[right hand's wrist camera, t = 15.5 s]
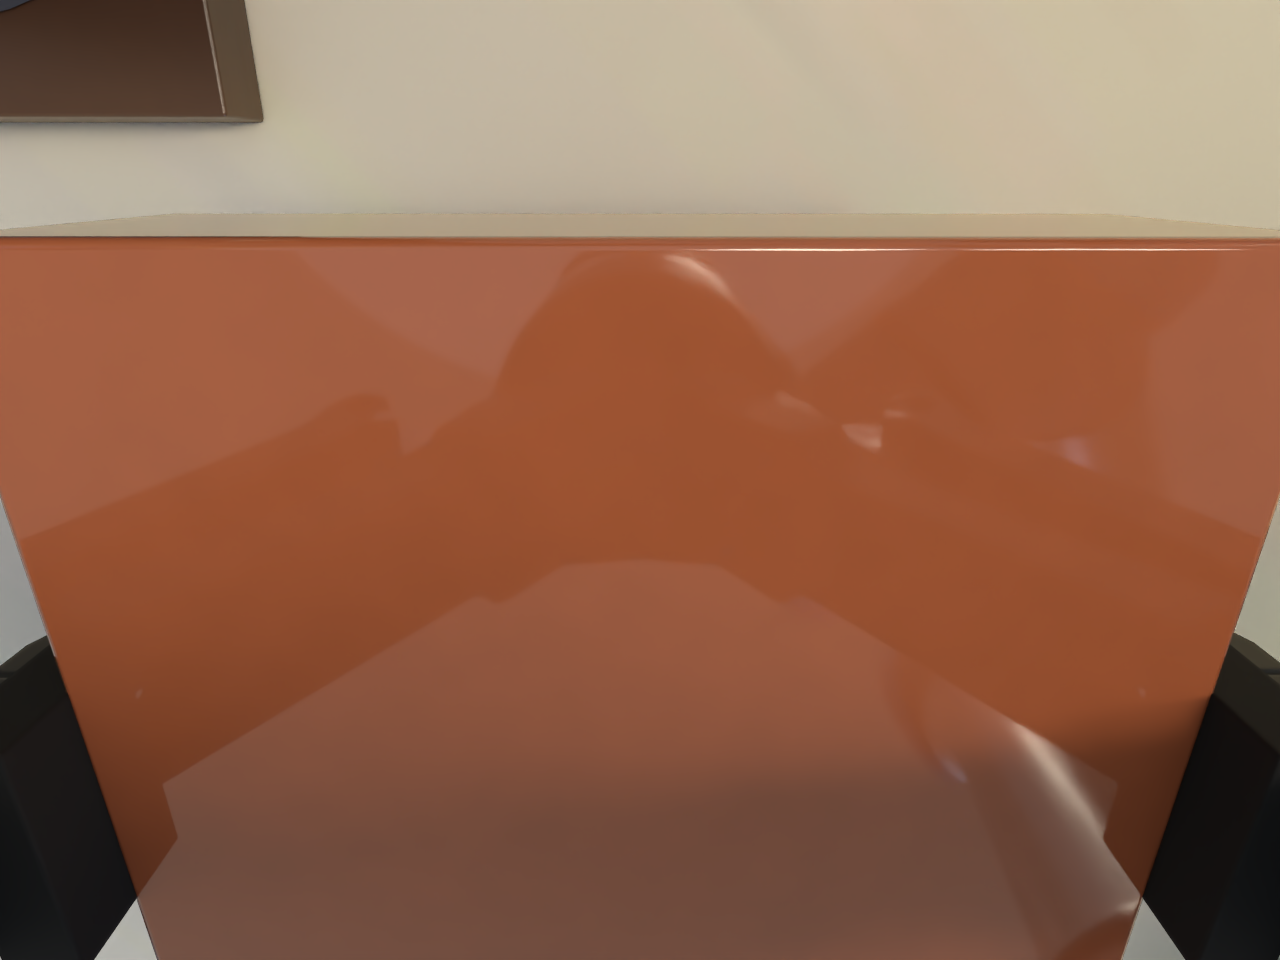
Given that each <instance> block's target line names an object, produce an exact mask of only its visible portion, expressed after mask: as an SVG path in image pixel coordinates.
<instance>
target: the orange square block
mask: <svg viewBox="0 0 1280 960" xmlns="http://www.w3.org/2000/svg"><path fill="white" fill-rule="evenodd" d="M0 498H1V501H2V504H3V507H4V510H5V513H6V516H7V519H8V522H9V525H10V528H11V531H12V534H13V537H14V540H15V543H16V546H17V548H18V551H19V554H20V557H21V560H22V563H23V566H24V569H25V572H26V575H27V578H28V581H29V584H30V587H31V590H32V593H33V596H34V598H35V601H36V604H37V607H38V610H39V613H40V616H41V619H42V622H43V625H44V628H45V631H46V634H47V637H48V640H49V643H50V646H51V649H52V651H53V654H54V657H55V660H56V663H57V666H58V669H59V672H60V675H61V678H62V681H63V684H64V687H65V690H66V693H68V696H69V699H70V702H71V705H72V708H73V711H74V714H75V717H76V720H77V723H78V726H79V729H80V732H81V735H82V738H83V741H84V743H85V746H86V749H87V752H88V755H89V758H90V761H91V764H92V767H93V770H94V773H95V776H96V779H97V782H98V785H99V788H100V791H101V794H102V796H103V799H104V802H105V805H106V808H107V811H108V814H109V817H110V820H111V823H112V826H113V829H114V832H115V835H116V838H117V841H118V844H119V846H120V849H121V852H122V855H123V858H124V861H125V864H126V867H127V870H128V873H129V876H130V879H131V882H132V885H133V888H134V891H135V894H136V897H137V898H136V899H137V902H138V904H139V907H140V910H141V913H142V916H143V919H144V922H145V925H146V928H147V931H148V934H149V937H150V940H151V943H152V946H153V949H154V952H155V954H156V957H157V960H1122V959H1123V956H1124V953H1125V950H1126V947H1127V944H1128V941H1129V938H1130V935H1131V932H1132V929H1133V926H1134V923H1135V921H1136V918H1137V915H1138V912H1139V909H1140V906H1141V903H1142V900H1143V896H1144V893H1145V890H1146V887H1147V884H1148V881H1149V878H1150V875H1151V872H1152V869H1153V866H1154V863H1155V860H1156V857H1157V854H1158V851H1159V849H1160V846H1161V843H1162V840H1163V837H1164V834H1165V831H1166V828H1167V825H1168V822H1169V819H1170V816H1171V813H1172V810H1173V807H1174V804H1175V801H1176V798H1177V796H1178V793H1179V790H1180V787H1181V784H1182V781H1183V778H1184V775H1185V772H1186V769H1187V766H1188V763H1189V760H1190V757H1191V754H1192V751H1193V748H1194V746H1195V743H1196V740H1197V737H1198V734H1199V731H1200V728H1201V725H1202V722H1203V719H1204V716H1205V713H1206V710H1207V707H1208V704H1209V701H1210V698H1211V695H1212V693H1213V691H1214V688H1215V686H1216V683H1217V680H1218V677H1219V674H1220V671H1221V668H1222V665H1223V662H1224V659H1225V656H1226V653H1227V650H1228V647H1229V644H1230V641H1231V639H1232V636H1233V633H1234V630H1235V627H1236V624H1237V621H1238V618H1239V615H1240V612H1241V609H1242V606H1243V603H1244V600H1245V597H1246V594H1247V592H1248V589H1249V586H1250V583H1251V580H1252V577H1253V574H1254V571H1255V568H1256V565H1257V562H1258V559H1259V556H1260V553H1261V550H1262V547H1263V545H1264V542H1265V539H1266V536H1267V533H1268V530H1269V527H1270V524H1271V521H1272V518H1273V515H1274V512H1275V509H1276V506H1277V503H1278V500H1279V498H1280V230H1274V229H1263V228H1252V227H1241V226H1231V225H1220V224H1209V223H1198V222H1187V221H1177V220H1166V219H1155V218H1144V217H1134V216H1123V215H1112V214H164V215H154V216H143V217H132V218H121V219H110V220H99V221H88V222H77V223H66V224H56V225H45V226H34V227H23V228H12V229H1V230H0Z"/></svg>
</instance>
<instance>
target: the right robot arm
mask: <svg viewBox="0 0 1280 960" xmlns="http://www.w3.org/2000/svg"><path fill="white" fill-rule="evenodd" d="M136 898H137V897H136V894H135V891H134V888H133V885H132V882H131V879H130V876H129V873H128V870H127V867H126V864H125V861H124V858H123V855H122V852H121V849H120V846H119V844H118V841H117V838H116V835H115V832H114V829H113V826H112V823H111V820H110V817H109V814H108V811H107V808H106V805H105V802H104V799H103V796H102V794H101V791H100V788H99V785H98V782H97V779H96V776H95V773H94V770H93V767H92V764H91V761H90V758H89V755H88V752H87V749H86V746H85V743H84V741H83V738H82V735H81V732H80V729H79V726H78V723H77V720H76V717H75V714H74V711H73V708H72V705H71V702H70V699H69V696H68V693H66V690H65V687H64V684H63V681H62V678H61V675H60V672H59V669H58V666H57V663H56V660H55V657H54V654H53V651H52V649H51V646H50V643H49V640H48V637H47V636H45V637H43V638H41V639H39V640H37V641H35V642H33V643H31V644H29V645H27V646H25V647H24V648H23V649H22V650H20V651H19V652H18V653H16V654H15V655H14V656H12V657H11V658H10V659H9V660H7V661H6V662H5V663H3V664H2V665H1V666H0V957H1V959H2V960H94V959H95V958H96V956H97V955H98V953H99V952H100V950H101V949H102V947H103V946H104V945H105V943H106V942H107V940H108V939H109V937H110V936H111V934H112V933H113V932H114V930H115V929H116V927H117V926H118V924H119V923H120V921H121V920H122V919H123V917H124V916H125V914H126V913H127V911H128V910H129V908H130V907H131V906H132V904H133V903H134V901H135V900H136ZM1143 899H1144V900H1145V902H1146V903H1147V905H1148V906H1149V908H1150V909H1151V911H1152V912H1153V913H1154V915H1155V916H1156V918H1157V919H1158V921H1159V922H1160V924H1161V925H1162V926H1163V928H1164V929H1165V931H1166V932H1167V934H1168V935H1169V937H1170V938H1171V940H1172V941H1173V942H1174V944H1175V945H1176V947H1177V948H1178V950H1179V951H1180V953H1181V954H1182V955H1183V957H1184V958H1185V960H1278V958H1279V955H1280V662H1278V661H1277V660H1276V659H1274V658H1273V657H1272V656H1270V655H1269V654H1268V653H1267V652H1265V651H1264V650H1263V649H1261V648H1260V647H1259V646H1257V645H1256V644H1255V643H1253V642H1251V641H1249V640H1247V639H1245V638H1243V637H1241V636H1239V635H1237V634H1235V633H1233V636H1232V639H1231V641H1230V644H1229V647H1228V650H1227V653H1226V656H1225V659H1224V662H1223V665H1222V668H1221V671H1220V674H1219V677H1218V680H1217V683H1216V686H1215V688H1214V691H1213V693H1212V695H1211V698H1210V701H1209V704H1208V707H1207V710H1206V713H1205V716H1204V719H1203V722H1202V725H1201V728H1200V731H1199V734H1198V737H1197V740H1196V743H1195V746H1194V748H1193V751H1192V754H1191V757H1190V760H1189V763H1188V766H1187V769H1186V772H1185V775H1184V778H1183V781H1182V784H1181V787H1180V790H1179V793H1178V796H1177V798H1176V801H1175V804H1174V807H1173V810H1172V813H1171V816H1170V819H1169V822H1168V825H1167V828H1166V831H1165V834H1164V837H1163V840H1162V843H1161V846H1160V849H1159V851H1158V854H1157V857H1156V860H1155V863H1154V866H1153V869H1152V872H1151V875H1150V878H1149V881H1148V884H1147V887H1146V890H1145V893H1144V896H1143Z"/></svg>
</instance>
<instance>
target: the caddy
mask: <svg viewBox="0 0 1280 960" xmlns="http://www.w3.org/2000/svg"><path fill="white" fill-rule="evenodd" d="M262 121H263V114H262V108H261V102H260V96H259V90H258V84H257V77H256V71H255V65H254V59H253V53H252V47H251V41H250V35H249V29H248V23H247V17H246V11H245V4H244V0H0V122H262Z"/></svg>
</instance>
